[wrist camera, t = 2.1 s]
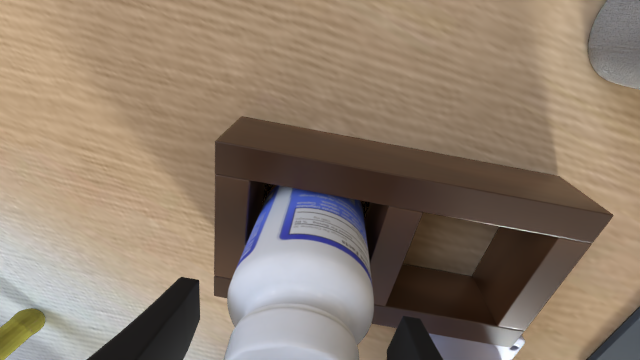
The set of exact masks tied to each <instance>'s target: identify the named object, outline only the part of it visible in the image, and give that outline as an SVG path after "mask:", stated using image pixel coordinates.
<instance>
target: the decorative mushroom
mask: <svg viewBox="0 0 640 360" xmlns="http://www.w3.org/2000/svg"><path fill="white" fill-rule="evenodd" d="M44 323H45V316H44V314H43V313H42V312H41V311H39V310H37V309H32V308H31V309H25V310H22V311H19V312H18V313H17V314H15V315H14V316H13V317H12V318H11V319H10V320H9V321H8V322H7V323H5V324H4V325H3V326H2V327H0V360H4V359H5V358H7V357H8V356H9V355H10V354H11V353H12V352H13V351H15V350H16V349H17V348H18V347H19V346H20V345H21V344H22V343H24V342H25V341H26V340H27V339H28V338H29V337H30V336H32V335H33V334H35V333H36V332H38V331H39V330H40V329H41V328H42V327H43V326H44Z"/></svg>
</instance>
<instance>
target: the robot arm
mask: <svg viewBox="0 0 640 360" xmlns="http://www.w3.org/2000/svg"><path fill="white" fill-rule="evenodd" d="M199 320H200V298H199V280H196V279H190V278H184V277H181V278H179V279H178V280H177V281H176V282H175V283H174V284H173V285H172V286H171V287H170V288H169V289H167V290H166V291H165V292H164V293H163V294H162V295H161V296H160V297H159V298H158V299H157V300H156V301H155V302H154V303H153V304H152V305H150V306H149V307H148V308H147V309H146V310H145V311H144V312H143V313H142V314H140V315H139V316H138V317H137V318H136V319H135V320H134V321H133V322H131V323H130V324H129V325H128V326H127V327H126V328H125V329H123V330H122V331H121V332H120V333H119V334H118V335H116V336H115V337H114V338H113V339H111V340H110V341H109V342H108V343H107V344H105V345H104V346H103V347H102V348H100V349H99V350H98V351H97V352H96V353H94V354H93V355H92V356H91V357H89V358H88V359H87V360H183V358H184V356H185V354H186V352H187V351H188V348H189V346H190V343H191V341H192V338H193V336H194V333H195V331H196V328H197V325H198V323H199ZM524 343H525V340H524V338H523V337H522V336H520V337H519V338H518V340H517V341H516V342H515V344H514V345H513V346H512V347H511V348H509V347H503V346H497V345H491V344H486V343H480V342H474V341H469V340H463V339H457V338H451V337H446V336H440V335H434V334H429V333H428V331H427V330H426V328H425V326H424V324H423V322H422V321H421V319H419V318H414V317H408V316H403V317H402V319H401V321H400V323H399V325H398V328H397V330H396V332H395V334H394V336H393V339H392V341H391V343H390V345H389V347H388V349H387V360H512V359H513V358H514V356H515V355H516V354H517V353H518V351H519V350H520V349H521V348H522V346H523V345H524Z"/></svg>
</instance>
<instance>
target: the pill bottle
mask: <svg viewBox="0 0 640 360" xmlns="http://www.w3.org/2000/svg"><path fill="white" fill-rule="evenodd" d="M227 304H228V310H229V314H230V317H231V320H232V322H233V324H234V326H235V329H234V330H233V332H232V334H231V337H230V340H229V344H228V347H227V350H226V353H225V357H224V360H359V350H358V347H357V345H358V344H359V343H360V342H361V340H362V339H363V338H364V337H365V335H366V334H367V332H368V330H369V328H370V326H371V323H372V319H373V314H374V297H373V288H372V279H371V271H370V262H369V253H368V246H367V237H366V229H365V221H364V213H363V206H362V202H361V201H360V200H355V199H349V198H344V197H338V196H333V195H327V194H322V193H317V192H311V191H306V190H300V189H295V188H289V187H284V186H279V185H273V187H272V188H271V190H270V192H269V193H268V195H267V198H266V200H265V202H264V205H263V207H262V209H261V212H260V214H259V216H258V219H257V221H256V223H255V226H254V228H253V230H252V233H251V235H250V237H249V239H248V242H247V244H246V246H245V249H244V251H243V253H242V256H241V258H240V260H239V263H238V265H237V267H236V270H235V272H234V275H233V277H232V280H231V283H230V286H229V289H228V296H227Z"/></svg>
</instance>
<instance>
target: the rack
mask: <svg viewBox="0 0 640 360" xmlns="http://www.w3.org/2000/svg"><path fill="white" fill-rule="evenodd" d="M215 174H216V175H215V251H214V275H215V276H214V296H217V297H223V298H227V296H228V289H229V286H230V283H231V280H232V277H233V275H234V272H235V270H236V267H237V265H238V263H239V260H240V258H241V256H242V253H243V251H244V249H245V246H246V244H247V242H248V239H249V237H250V235H251V233H252V230H253V228H254V226H255V223H256V221H257V219H258V216H259V214H260V212H261V209H262V206H263V196H264V186H265V183H268V184H273V185H279V186H284V187H289V188H295V189H300V190H306V191H311V192H317V193H322V194H327V195H333V196H338V197H344V198H349V199H355V200H360V201H365V202H370V205H369V209H368V212H367V215H366V219H365V229H366V237H367V246H368V253H369V262H370V271H371V279H372V288H373V297H374V314H373V319H372V324H377V325H383V326H389V327H394V328H398V325H399V323H400V321H401V319H402V317H403V316H408V317H414V318H419V319H421V321H422V322H423V324H424V326H425V328H426V330H427V331H428V333H429V334H434V335H440V336H446V337H451V338H457V339H463V340H469V341H474V342H480V343H486V344H491V345H497V346H503V347H509V348H511V347H512V346H513V345H514V344H515V342H516V341H517V340H518V338H519V337H520V336H521V335H522V333H523V332H524V331H525V330H526V329H527V327H528V326H529V325H530V323H531V322H532V321H533V320H534V318H535V317H536V316H537V314H538V313H539V312H540V311H541V309H542V308H543V307H544V305H545V304H546V303H547V301H548V300H549V299H550V298H551V296H552V295H553V294H554V292H555V291H556V290H557V288H558V287H559V286H560V285H561V283H562V282H563V281H564V279H565V278H566V277H567V276H568V274H569V273H570V272H571V270H572V269H573V268H574V266H575V265H576V264H577V263H578V261H579V260H580V259H581V257H582V256H583V255H584V253H585V252H586V251H587V250H588V248H589V247H590V246H591V243H593V242H594V240H595V239H596V238H597V237H598V235H599V234H600V233H601V231H602V230H603V229H604V227H605V226H606V225H607V224H608V222H609V221H610V220H611V218H612V217H613V214H611V213H610V212H608V211H607V210H606V209H604V208H603V207H601V206H600V205H599V204H597V203H596V202H594V201H593V200H592V199H590V198H589V197H588V196H586V195H585V194H583V193H582V192H581V191H579V190H578V189H576V188H575V187H574V186H572V185H571V184H569V183H568V182H567V181H565V180H564V179H562V178H561V177H560V176H555V175H550V174H544V173H539V172H534V171H528V170H523V169H518V168H513V167H507V166H502V165H497V164H491V163H486V162H481V161H475V160H470V159H465V158H459V157H454V156H449V155H444V154H438V153H433V152H428V151H422V150H417V149H412V148H406V147H401V146H396V145H391V144H385V143H380V142H375V141H369V140H364V139H359V138H353V137H348V136H343V135H338V134H332V133H327V132H322V131H316V130H311V129H306V128H300V127H295V126H290V125H285V124H279V123H274V122H269V121H263V120H258V119H253V118H247V117H240V118H239V119H238V120H237V121H236V122H235V123H234V124H233V125H232V126H231V127H230V128H229V129H228V130H227V131H225V132H224V133H223V134H222V135H221V136H220V137H219V138H218V139H217V140H216V141H215ZM423 212H425V213H431V214H436V215H442V216H447V217H452V218H458V219H463V220H469V221H474V222H480V223H485V224H490V225H496V226H500V228H499V229H498V231H497V233H496V235H495V236H494V238H493V240H492V242H491V243H490V245H489V247H488V249H487V250H486V252H485V254H484V256H483V258H482V259H481V261H480V263H479V265H478V266H477V268H476V270H475V272H474V273H473V275H472V276H466V275H461V274H455V273H450V272H444V271H438V270H433V269H427V268H422V267H416V266H411V265H405V264H403V261H404V259H405V256H406V254H407V251H408V249H409V246H410V244H411V241H412V239H413V236H414V234H415V231H416V229H417V227H418V224H419V222H420V219H421V217H422V214H423Z"/></svg>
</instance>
